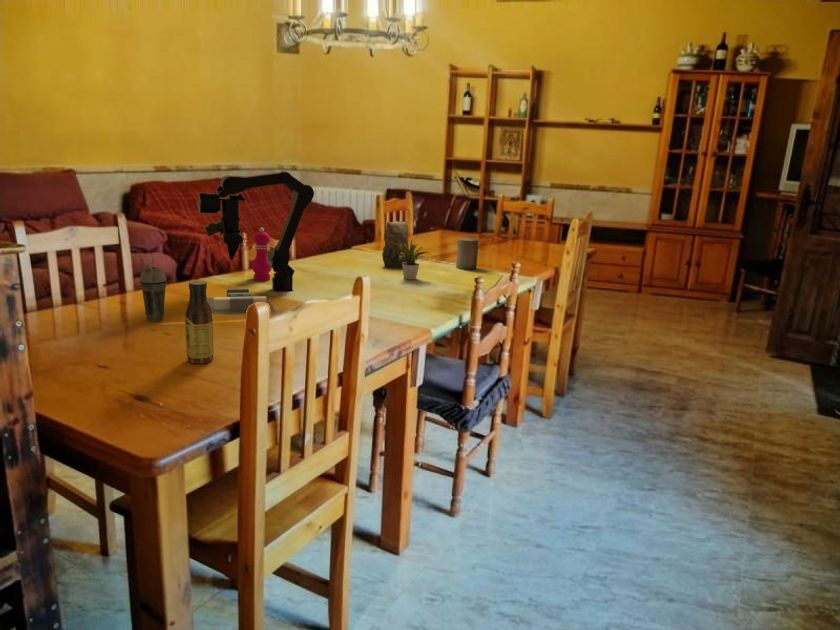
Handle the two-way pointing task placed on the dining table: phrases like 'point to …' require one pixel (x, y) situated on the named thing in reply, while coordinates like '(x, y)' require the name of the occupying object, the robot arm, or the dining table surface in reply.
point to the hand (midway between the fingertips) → (231, 259)
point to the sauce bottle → (199, 325)
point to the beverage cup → (153, 292)
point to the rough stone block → (391, 252)
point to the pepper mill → (261, 256)
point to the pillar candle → (467, 253)
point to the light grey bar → (225, 301)
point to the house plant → (411, 261)
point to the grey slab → (236, 302)
